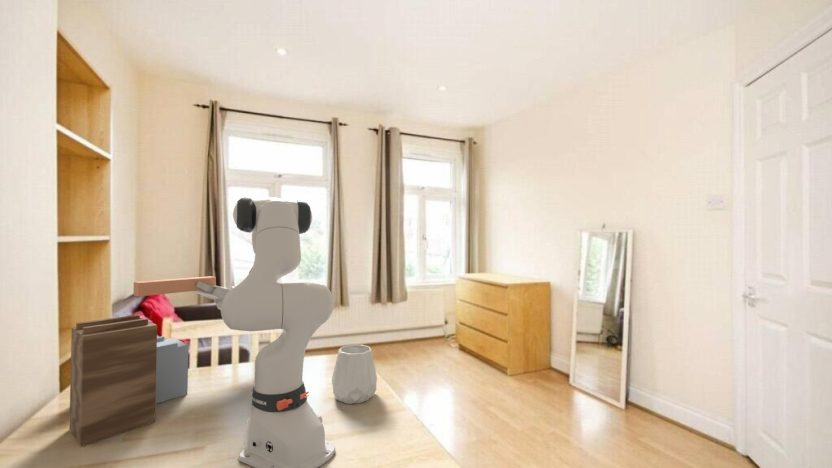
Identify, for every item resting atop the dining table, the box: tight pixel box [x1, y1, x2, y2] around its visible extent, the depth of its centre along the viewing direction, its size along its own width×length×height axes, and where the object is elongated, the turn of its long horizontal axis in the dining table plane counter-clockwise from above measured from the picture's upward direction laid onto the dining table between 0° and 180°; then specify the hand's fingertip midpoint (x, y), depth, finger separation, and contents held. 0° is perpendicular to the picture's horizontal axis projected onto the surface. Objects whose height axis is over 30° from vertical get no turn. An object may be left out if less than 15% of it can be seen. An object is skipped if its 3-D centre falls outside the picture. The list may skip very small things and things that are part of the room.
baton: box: [133, 275, 217, 297], centre depth 119 cm, size 4×22×4 cm, turn 142°
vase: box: [331, 343, 378, 405], centre depth 117 cm, size 14×14×15 cm
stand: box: [68, 314, 158, 447], centre depth 97 cm, size 12×15×28 cm
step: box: [155, 335, 190, 405], centre depth 116 cm, size 12×11×17 cm
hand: (193, 282), depth 123 cm, fingers closed on baton, 4 cm apart
